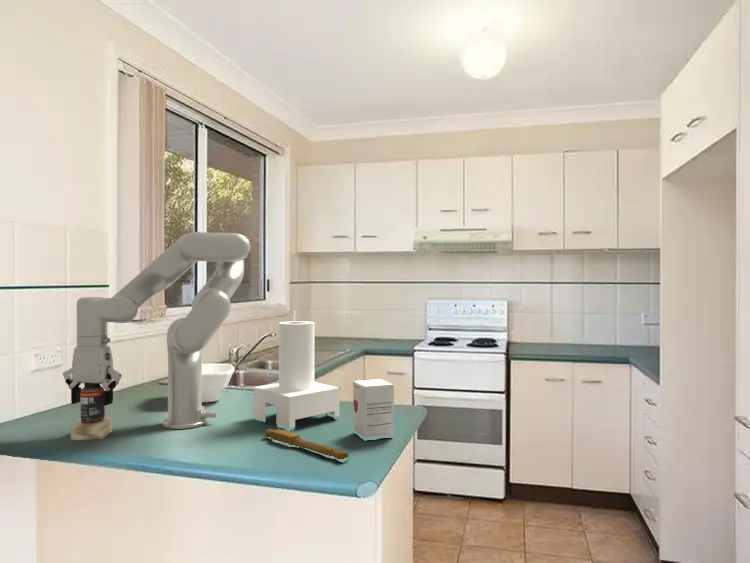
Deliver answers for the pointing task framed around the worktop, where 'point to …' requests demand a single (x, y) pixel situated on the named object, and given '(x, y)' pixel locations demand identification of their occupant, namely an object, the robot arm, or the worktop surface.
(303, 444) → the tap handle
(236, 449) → the worktop surface
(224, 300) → the robot arm
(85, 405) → the supplement bottle
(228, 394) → the worktop surface
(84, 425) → the maple block
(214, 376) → the bowl
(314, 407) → the paper towel holder
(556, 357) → the worktop surface
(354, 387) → the supplement box
